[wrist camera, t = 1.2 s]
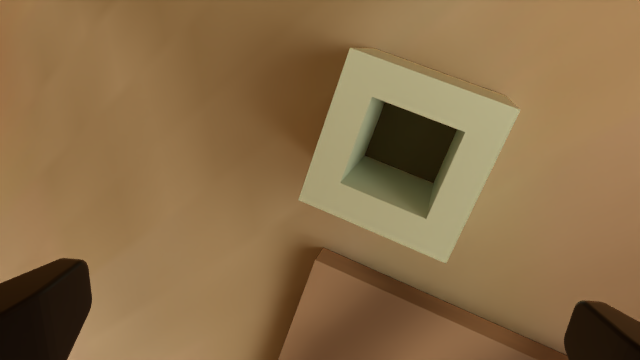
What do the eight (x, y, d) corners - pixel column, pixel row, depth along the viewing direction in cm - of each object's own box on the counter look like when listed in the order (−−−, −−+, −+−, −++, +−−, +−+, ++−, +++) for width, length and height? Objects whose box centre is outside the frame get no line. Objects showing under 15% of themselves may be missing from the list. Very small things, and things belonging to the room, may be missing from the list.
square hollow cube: (506, 96, 20) (520, 109, 15) (448, 218, 22) (446, 263, 17) (374, 48, 21) (349, 47, 16) (330, 169, 23) (298, 199, 18)
